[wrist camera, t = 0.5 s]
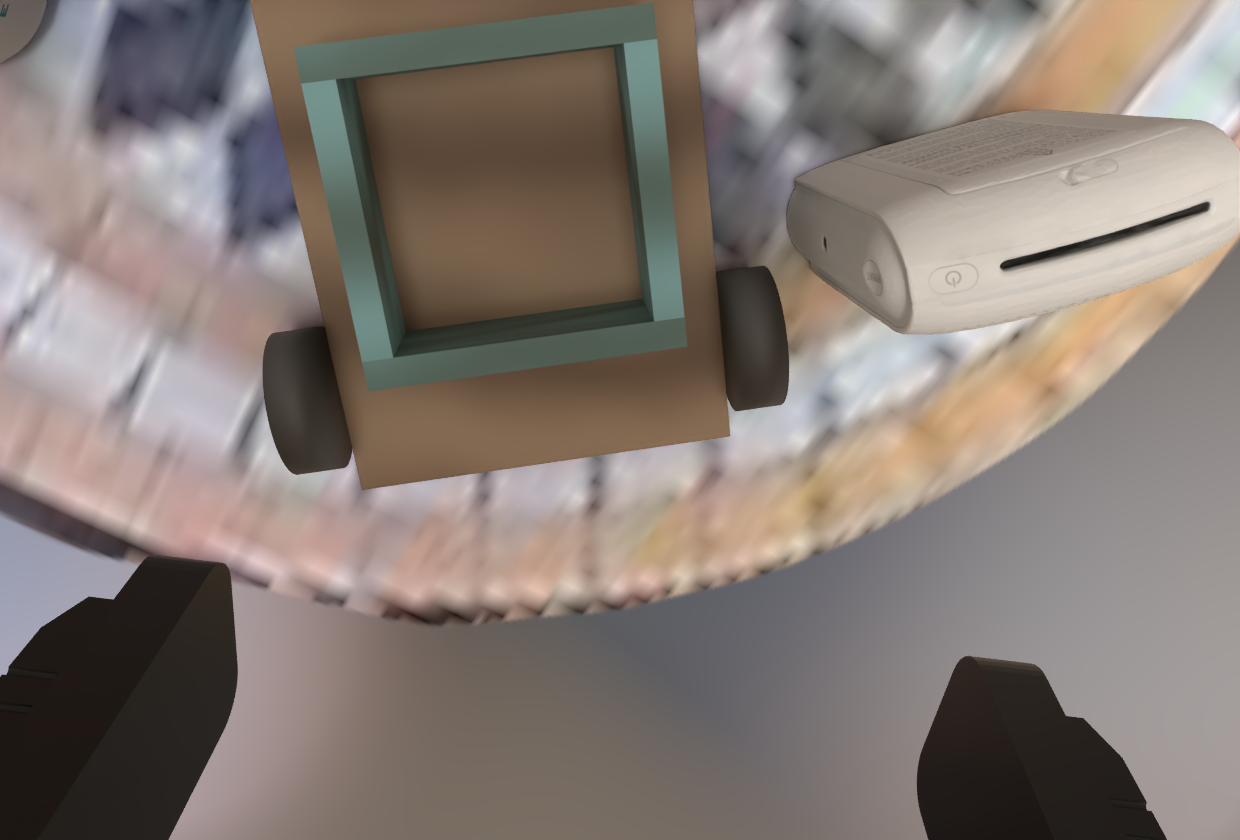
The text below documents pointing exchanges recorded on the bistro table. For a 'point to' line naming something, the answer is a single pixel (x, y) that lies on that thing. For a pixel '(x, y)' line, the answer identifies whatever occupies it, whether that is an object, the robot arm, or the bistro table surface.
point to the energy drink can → (18, 24)
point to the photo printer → (1016, 215)
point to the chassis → (504, 238)
